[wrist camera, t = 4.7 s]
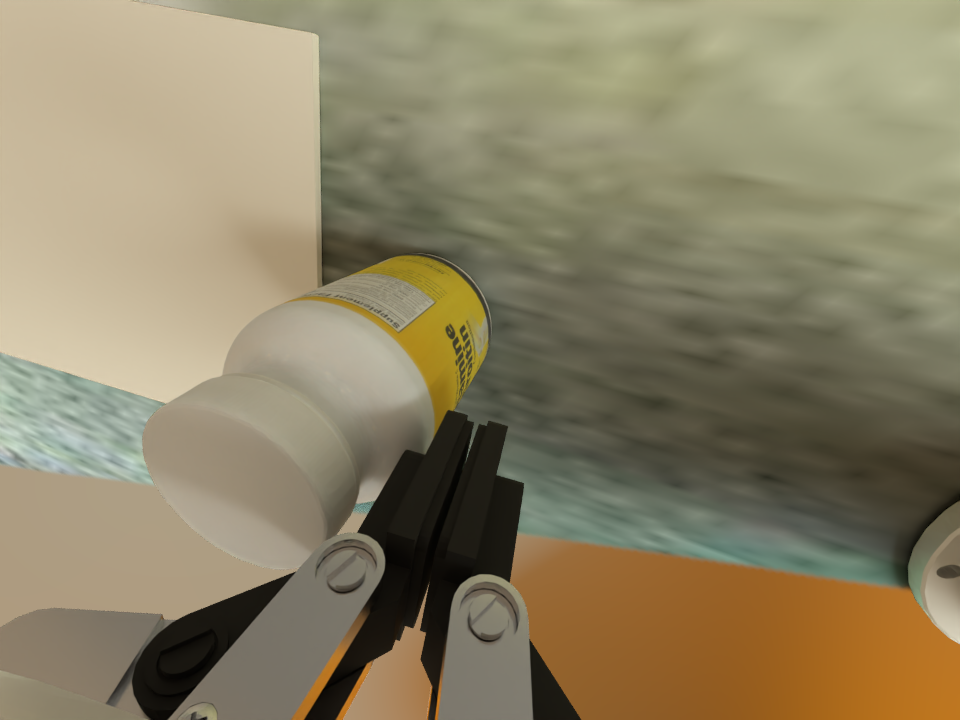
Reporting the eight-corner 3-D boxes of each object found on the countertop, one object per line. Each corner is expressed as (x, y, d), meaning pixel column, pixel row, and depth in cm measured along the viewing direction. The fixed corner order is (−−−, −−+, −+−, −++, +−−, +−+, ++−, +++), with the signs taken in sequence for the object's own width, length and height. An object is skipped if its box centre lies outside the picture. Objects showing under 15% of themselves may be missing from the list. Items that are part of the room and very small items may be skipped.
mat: (318, 36, 15) (312, 32, 14) (324, 446, 24) (320, 451, 24) (-183, -54, 17) (-199, -59, 17) (-1, 347, 27) (-9, 349, 26)
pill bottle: (446, 402, 21) (300, 631, 10) (345, 324, 20) (90, 484, 10) (525, 312, 17) (425, 516, 7) (408, 216, 17) (126, 291, 7)
